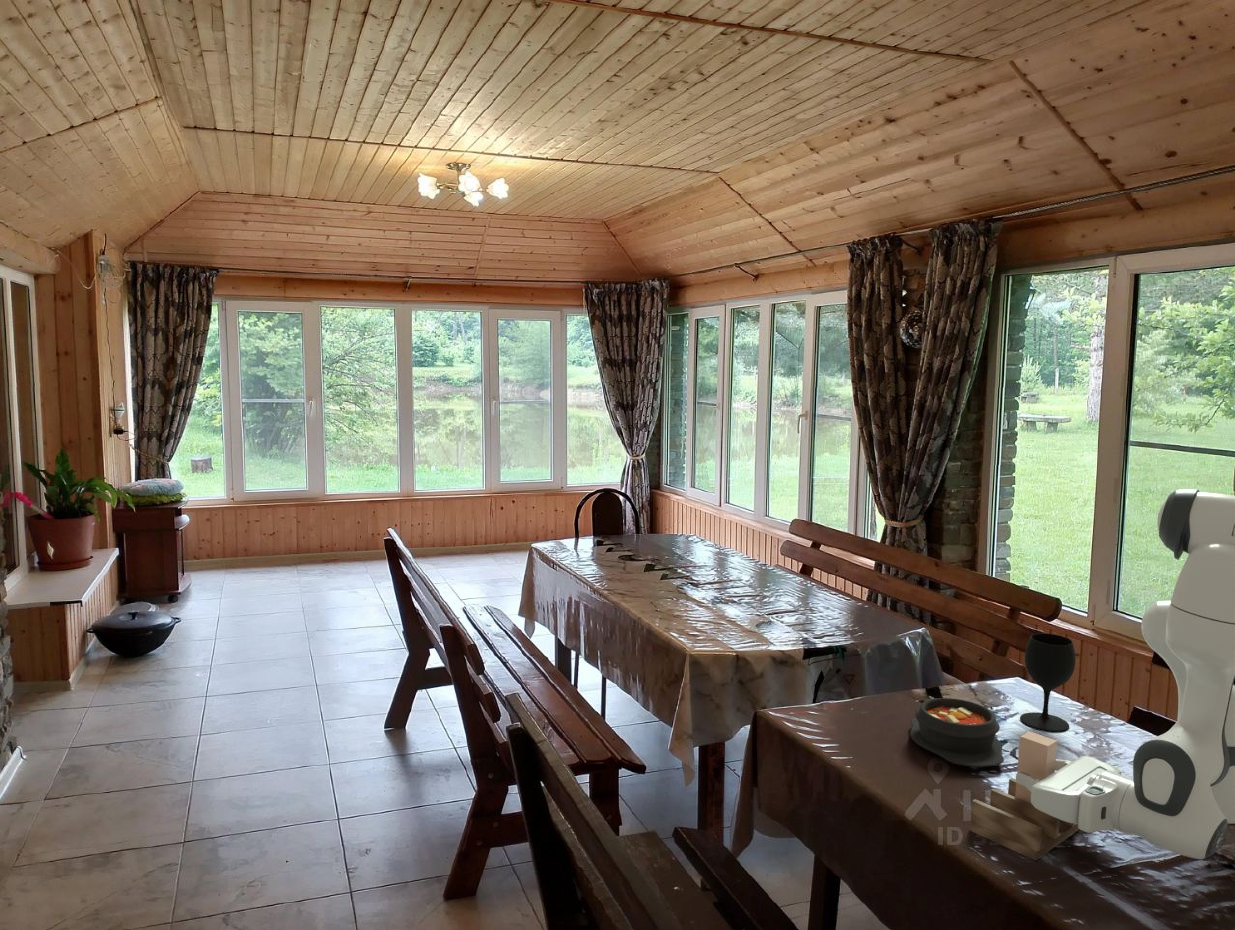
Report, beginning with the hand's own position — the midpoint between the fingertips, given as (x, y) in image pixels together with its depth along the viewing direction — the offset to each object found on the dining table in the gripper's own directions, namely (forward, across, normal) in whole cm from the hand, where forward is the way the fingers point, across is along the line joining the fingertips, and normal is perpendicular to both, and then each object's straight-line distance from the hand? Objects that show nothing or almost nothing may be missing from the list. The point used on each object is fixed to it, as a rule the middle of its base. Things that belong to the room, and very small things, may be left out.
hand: (1030, 768), depth 163 cm
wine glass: (+19, -47, +11) cm, 52 cm away
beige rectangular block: (-1, 0, +9) cm, 9 cm away
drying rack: (-1, 0, +10) cm, 11 cm away
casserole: (+25, -18, +11) cm, 33 cm away
